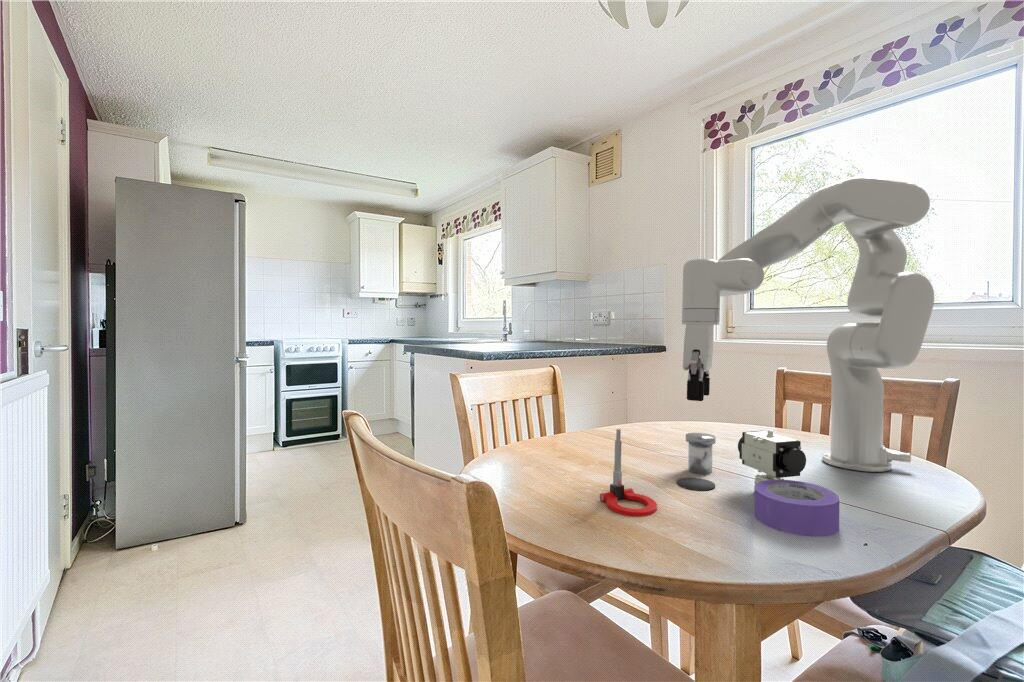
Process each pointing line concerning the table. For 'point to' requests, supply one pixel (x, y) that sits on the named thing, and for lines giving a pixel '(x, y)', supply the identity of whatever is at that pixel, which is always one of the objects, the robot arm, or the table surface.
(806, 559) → the table surface
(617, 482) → the tow hook
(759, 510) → the tape roll
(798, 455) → the pneumatic valve
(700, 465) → the cylinder
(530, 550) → the table surface
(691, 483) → the pad
